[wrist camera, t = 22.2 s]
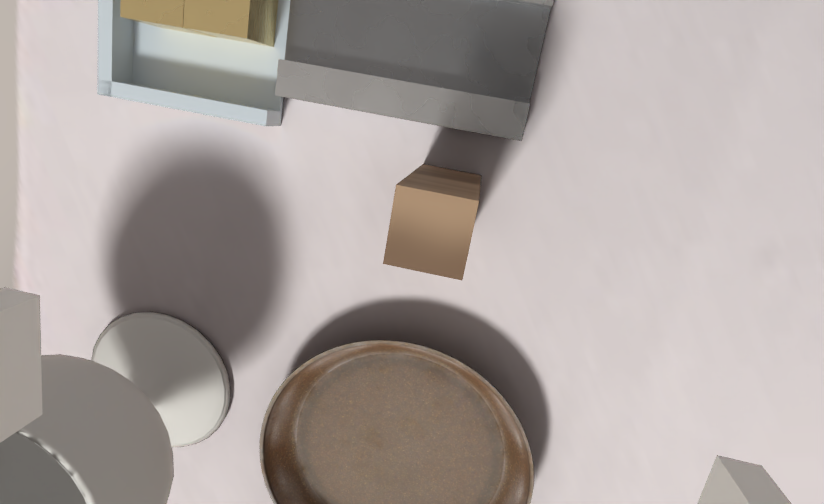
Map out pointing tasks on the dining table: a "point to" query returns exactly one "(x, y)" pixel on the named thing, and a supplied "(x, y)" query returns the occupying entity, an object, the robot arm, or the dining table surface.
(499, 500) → the plant saucer
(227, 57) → the tray
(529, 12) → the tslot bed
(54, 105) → the dining table surface
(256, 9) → the chip
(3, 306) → the robot arm
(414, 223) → the brown wooden block
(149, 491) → the chalice
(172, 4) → the chip
